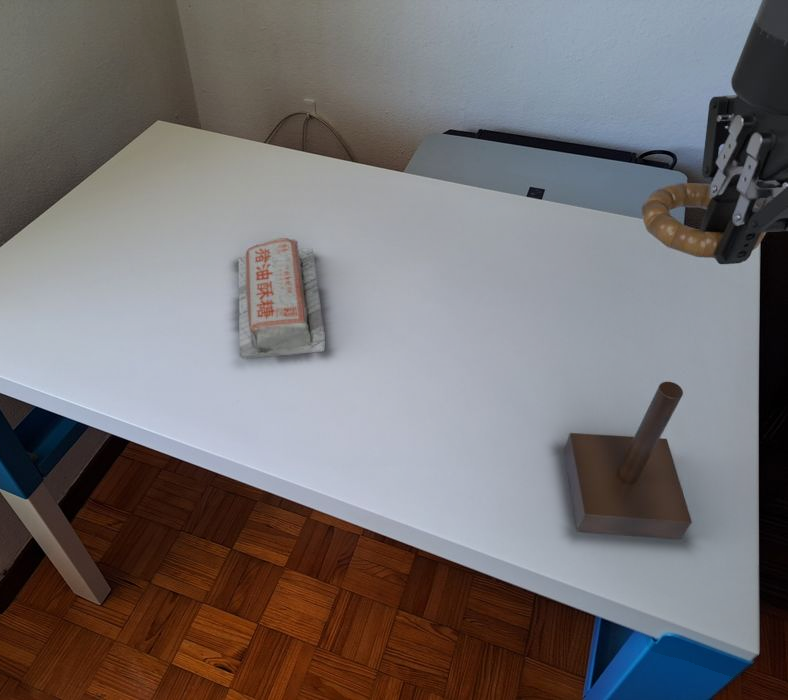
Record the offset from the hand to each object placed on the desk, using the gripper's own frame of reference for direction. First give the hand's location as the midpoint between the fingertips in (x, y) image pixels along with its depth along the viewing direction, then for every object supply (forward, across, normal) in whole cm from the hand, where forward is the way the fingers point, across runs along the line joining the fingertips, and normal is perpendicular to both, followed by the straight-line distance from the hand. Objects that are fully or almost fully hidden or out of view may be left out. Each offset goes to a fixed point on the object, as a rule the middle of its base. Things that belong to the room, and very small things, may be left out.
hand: (719, 248), depth 54 cm
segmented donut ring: (0, +4, 0) cm, 4 cm away
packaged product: (+22, +22, +36) cm, 48 cm away
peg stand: (+23, -8, +5) cm, 24 cm away
